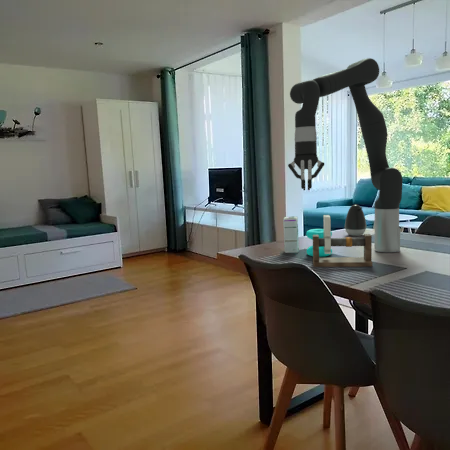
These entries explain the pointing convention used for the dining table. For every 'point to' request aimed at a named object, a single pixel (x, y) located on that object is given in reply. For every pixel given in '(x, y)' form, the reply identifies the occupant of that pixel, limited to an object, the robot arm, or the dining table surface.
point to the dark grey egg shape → (355, 221)
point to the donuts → (310, 236)
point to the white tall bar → (327, 234)
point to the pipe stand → (343, 260)
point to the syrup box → (291, 234)
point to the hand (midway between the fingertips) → (306, 190)
